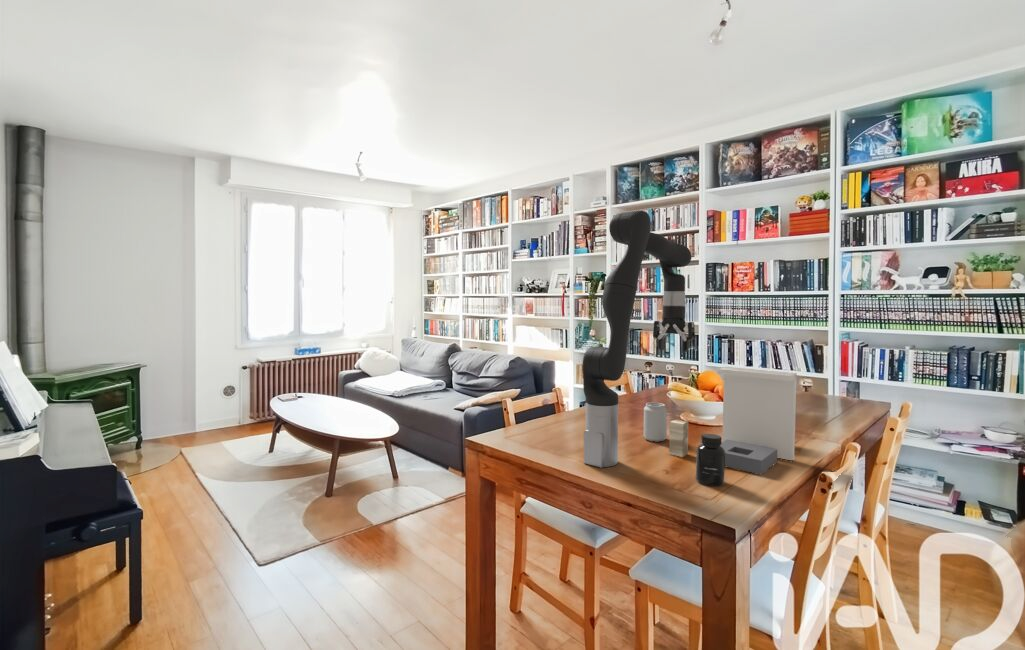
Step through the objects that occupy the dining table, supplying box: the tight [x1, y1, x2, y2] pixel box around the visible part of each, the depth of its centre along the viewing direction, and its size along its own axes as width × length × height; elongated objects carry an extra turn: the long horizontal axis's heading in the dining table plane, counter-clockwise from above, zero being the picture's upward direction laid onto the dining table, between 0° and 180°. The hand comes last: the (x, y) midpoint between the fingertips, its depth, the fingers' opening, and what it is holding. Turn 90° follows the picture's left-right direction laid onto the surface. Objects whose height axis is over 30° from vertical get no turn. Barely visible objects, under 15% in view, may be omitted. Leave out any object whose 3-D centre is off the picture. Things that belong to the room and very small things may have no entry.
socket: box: [720, 439, 778, 475], centre depth 143 cm, size 14×14×4 cm
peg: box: [668, 419, 689, 458], centre depth 151 cm, size 4×4×10 cm
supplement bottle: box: [695, 433, 726, 487], centre depth 128 cm, size 7×7×12 cm
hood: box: [717, 366, 798, 461], centre depth 149 cm, size 6×20×26 cm, turn 47°
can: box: [643, 402, 668, 443], centre depth 167 cm, size 8×8×12 cm
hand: (673, 351), depth 174 cm, fingers open, 8 cm apart
